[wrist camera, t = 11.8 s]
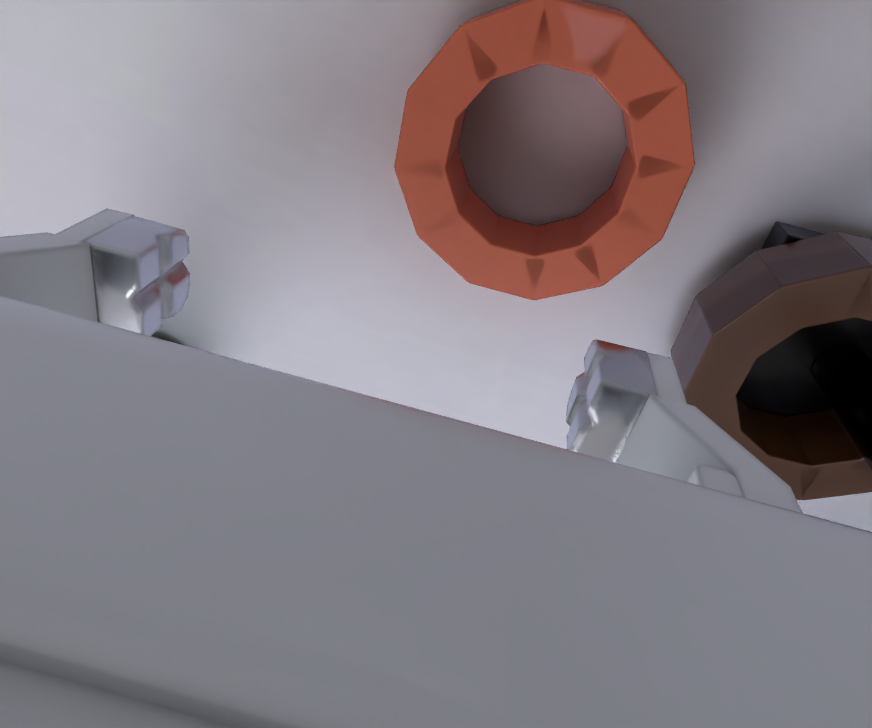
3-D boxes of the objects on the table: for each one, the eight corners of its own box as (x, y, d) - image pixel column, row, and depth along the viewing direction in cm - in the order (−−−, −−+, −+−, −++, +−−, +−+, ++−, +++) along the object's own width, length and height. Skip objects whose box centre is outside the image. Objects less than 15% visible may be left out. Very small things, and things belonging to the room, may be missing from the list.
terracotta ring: (444, -35, 21) (428, -36, 19) (724, 36, 21) (748, 46, 18) (396, 230, 27) (378, 259, 24) (617, 289, 26) (624, 325, 24)
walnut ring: (736, 208, 22) (759, 240, 20) (1009, 270, 22) (1072, 311, 19) (639, 416, 28) (648, 464, 25) (858, 469, 27) (890, 523, 25)
